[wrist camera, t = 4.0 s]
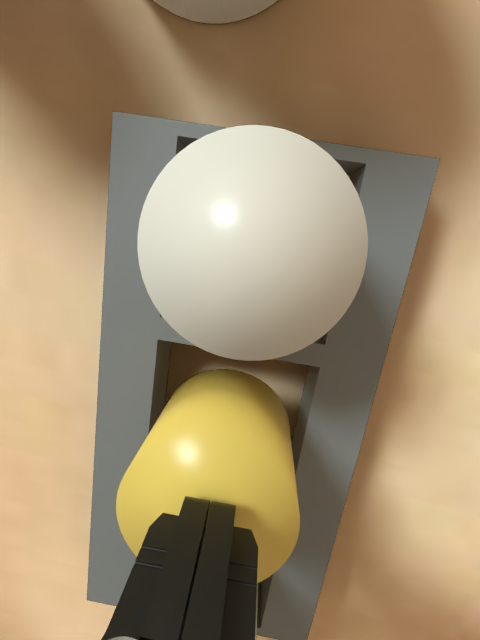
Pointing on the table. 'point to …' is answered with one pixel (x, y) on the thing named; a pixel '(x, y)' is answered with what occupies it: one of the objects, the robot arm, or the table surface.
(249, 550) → the robot arm
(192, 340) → the offwhite button
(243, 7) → the mug
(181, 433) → the mustard button
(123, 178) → the grey compartment tray
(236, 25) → the table surface
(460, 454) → the table surface
